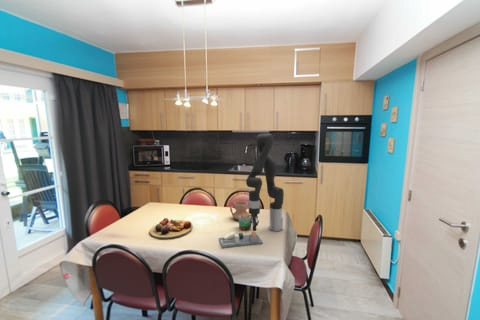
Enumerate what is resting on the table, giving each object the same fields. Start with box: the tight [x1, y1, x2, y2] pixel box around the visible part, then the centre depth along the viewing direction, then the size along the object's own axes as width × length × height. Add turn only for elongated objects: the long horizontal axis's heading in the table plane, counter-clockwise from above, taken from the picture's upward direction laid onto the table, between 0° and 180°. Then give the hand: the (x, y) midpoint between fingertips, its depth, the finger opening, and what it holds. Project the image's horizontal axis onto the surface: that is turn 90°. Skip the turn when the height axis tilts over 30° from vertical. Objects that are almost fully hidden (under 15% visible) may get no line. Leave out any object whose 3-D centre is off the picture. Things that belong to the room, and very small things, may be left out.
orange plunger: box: [250, 230, 258, 237], centre depth 161 cm, size 4×4×5 cm
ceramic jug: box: [229, 200, 251, 221], centre depth 201 cm, size 18×14×14 cm
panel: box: [218, 233, 263, 249], centre depth 162 cm, size 28×13×4 cm, turn 103°
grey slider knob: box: [235, 233, 239, 243], centre depth 158 cm, size 2×4×5 cm, turn 13°
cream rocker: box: [223, 230, 236, 240], centre depth 163 cm, size 8×4×2 cm, turn 102°
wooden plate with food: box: [149, 217, 194, 240], centre depth 180 cm, size 32×32×8 cm
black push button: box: [237, 232, 244, 239], centre depth 165 cm, size 4×4×2 cm
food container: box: [238, 215, 252, 231], centre depth 181 cm, size 12×6×10 cm, turn 66°
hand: (254, 230), depth 160 cm, fingers closed
